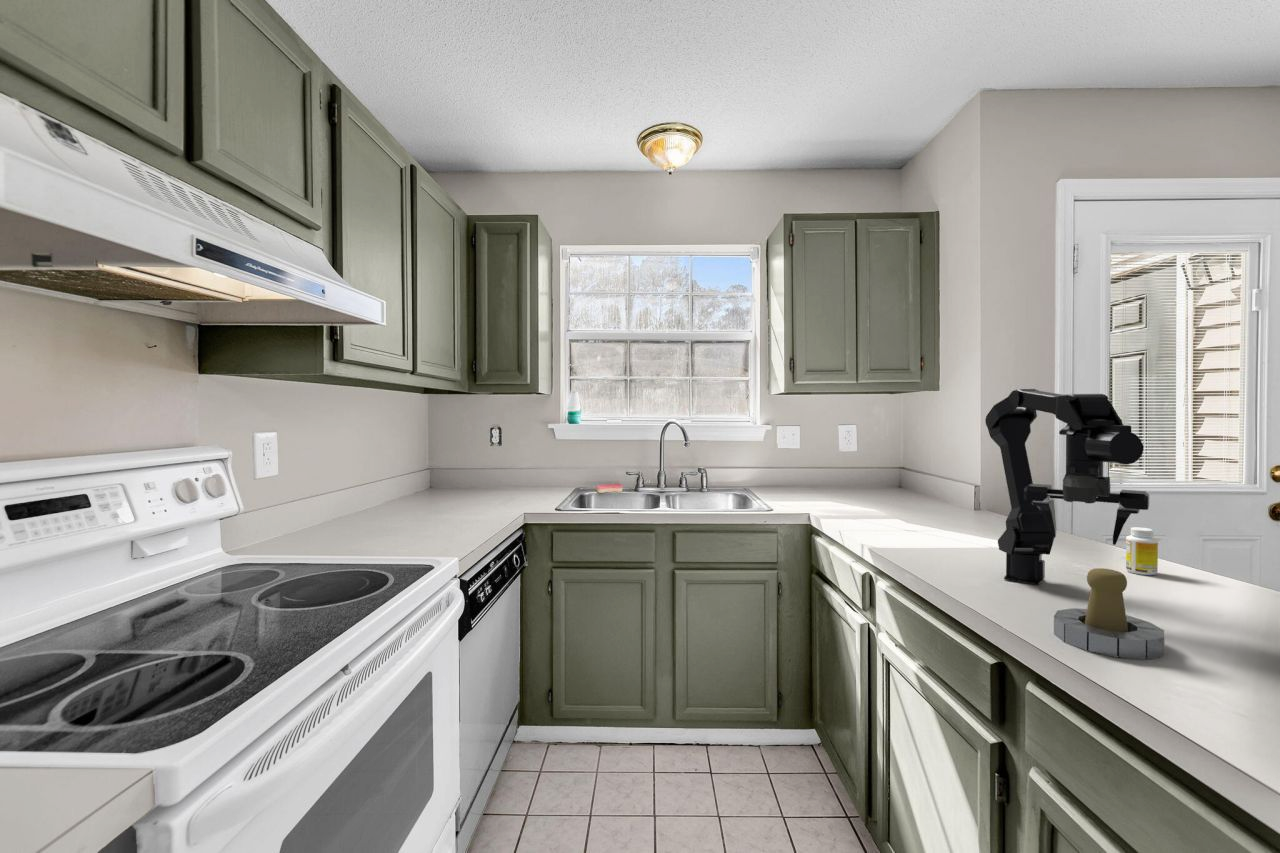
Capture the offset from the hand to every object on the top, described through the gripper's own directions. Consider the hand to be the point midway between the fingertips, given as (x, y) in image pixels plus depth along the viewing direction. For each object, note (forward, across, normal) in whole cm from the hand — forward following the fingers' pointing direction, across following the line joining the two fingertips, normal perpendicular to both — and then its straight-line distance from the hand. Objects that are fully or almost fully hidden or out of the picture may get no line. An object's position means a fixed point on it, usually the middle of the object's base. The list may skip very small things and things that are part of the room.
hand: (1083, 540), depth 112 cm
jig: (+13, +5, -17) cm, 22 cm away
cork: (+12, +5, -17) cm, 21 cm away
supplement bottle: (+13, +7, +38) cm, 41 cm away
